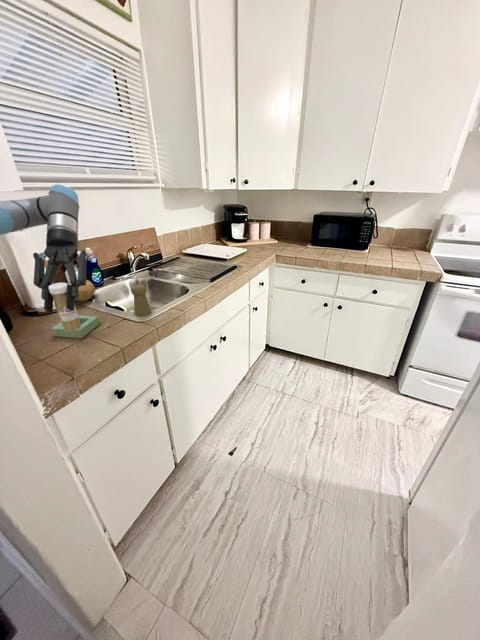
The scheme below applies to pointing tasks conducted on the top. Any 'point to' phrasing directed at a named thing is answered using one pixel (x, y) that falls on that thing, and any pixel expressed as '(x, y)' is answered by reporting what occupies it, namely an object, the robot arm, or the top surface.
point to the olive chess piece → (140, 300)
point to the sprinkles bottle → (64, 307)
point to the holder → (86, 326)
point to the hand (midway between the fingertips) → (59, 309)
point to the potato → (85, 291)
